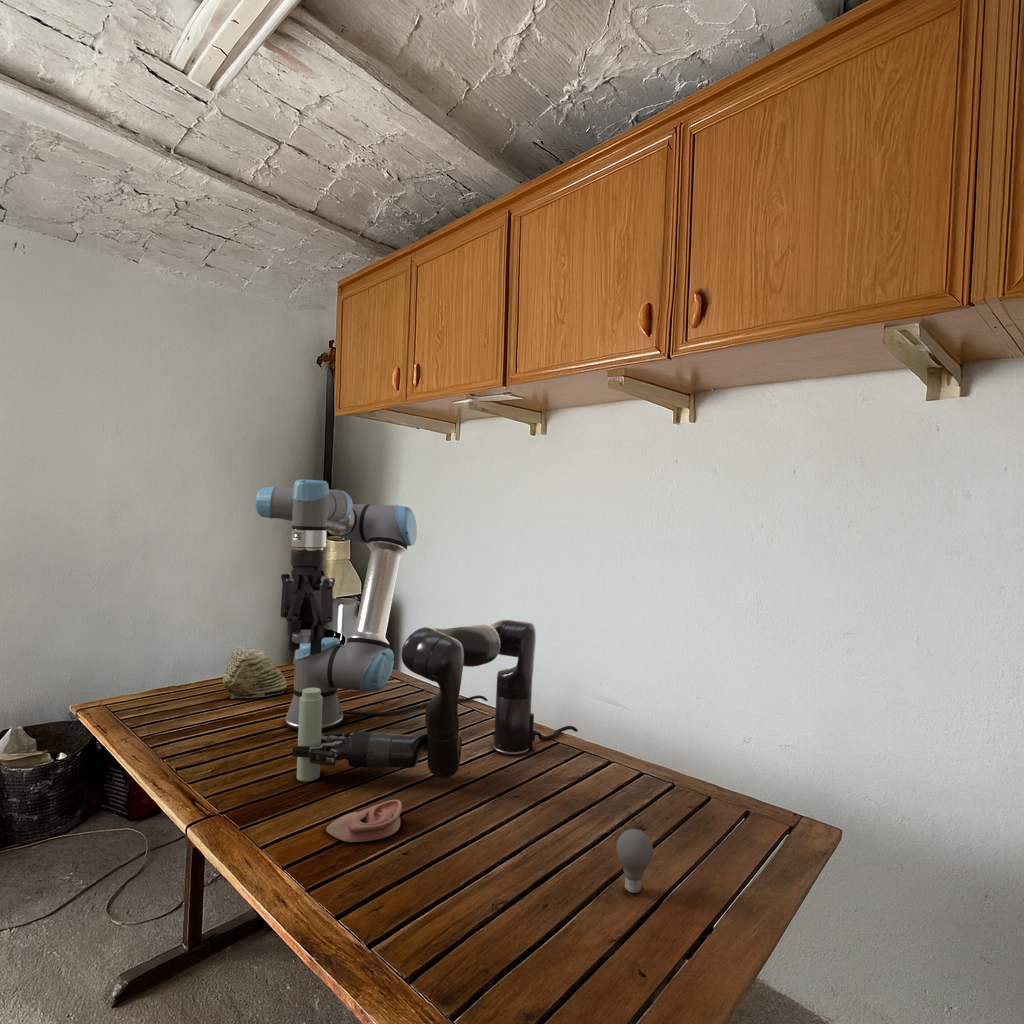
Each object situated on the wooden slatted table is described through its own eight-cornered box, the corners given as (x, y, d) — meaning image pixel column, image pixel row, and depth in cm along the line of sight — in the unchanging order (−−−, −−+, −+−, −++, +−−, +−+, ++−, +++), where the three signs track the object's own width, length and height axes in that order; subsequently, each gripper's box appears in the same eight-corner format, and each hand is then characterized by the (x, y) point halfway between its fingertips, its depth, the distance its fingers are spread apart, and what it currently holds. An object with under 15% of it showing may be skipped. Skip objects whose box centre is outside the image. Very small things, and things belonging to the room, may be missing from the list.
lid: (302, 636, 146) (302, 628, 146) (323, 639, 144) (323, 631, 144) (286, 641, 140) (287, 633, 140) (308, 644, 139) (309, 636, 139)
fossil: (218, 695, 195) (220, 647, 195) (278, 685, 208) (279, 640, 207) (228, 703, 189) (230, 653, 188) (289, 692, 201) (290, 645, 201)
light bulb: (610, 879, 108) (613, 822, 108) (644, 879, 109) (647, 822, 109) (619, 902, 102) (622, 840, 102) (655, 901, 103) (658, 840, 103)
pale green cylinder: (323, 777, 143) (326, 691, 142) (301, 783, 140) (305, 694, 139) (314, 770, 146) (317, 685, 146) (293, 775, 143) (296, 689, 143)
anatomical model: (318, 816, 117) (346, 789, 129) (317, 837, 118) (346, 808, 129) (385, 827, 115) (408, 798, 126) (384, 848, 115) (407, 818, 126)
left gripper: (265, 546, 142) (261, 649, 143) (330, 552, 134) (325, 661, 135) (289, 545, 149) (285, 643, 149) (352, 550, 141) (348, 654, 142)
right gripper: (380, 722, 150) (308, 718, 150) (365, 745, 136) (286, 741, 136) (378, 753, 150) (307, 750, 150) (364, 780, 136) (285, 776, 136)
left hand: (304, 651), depth 142 cm, fingers closed on lid, 5 cm apart
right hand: (297, 746), depth 143 cm, fingers closed on pale green cylinder, 5 cm apart
